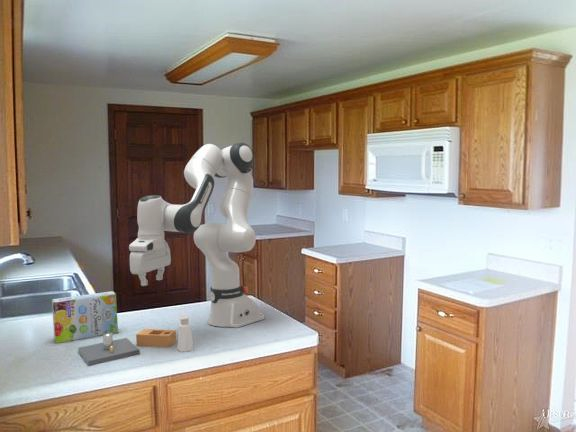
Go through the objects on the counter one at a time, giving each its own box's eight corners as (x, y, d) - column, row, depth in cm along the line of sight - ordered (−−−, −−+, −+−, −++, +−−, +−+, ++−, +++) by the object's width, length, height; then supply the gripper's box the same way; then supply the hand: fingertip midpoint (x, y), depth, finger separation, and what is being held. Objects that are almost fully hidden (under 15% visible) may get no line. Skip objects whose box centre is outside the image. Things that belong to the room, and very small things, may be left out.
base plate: (126, 341, 172) (126, 337, 172) (139, 354, 161) (139, 349, 160) (78, 352, 163) (78, 347, 163) (88, 365, 151) (88, 361, 151)
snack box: (115, 329, 186) (113, 290, 185) (118, 333, 181) (116, 293, 180) (54, 339, 176) (51, 298, 174) (55, 344, 171) (52, 302, 169)
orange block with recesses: (136, 345, 168) (136, 334, 168) (144, 339, 174) (144, 328, 174) (169, 347, 166) (168, 336, 166) (176, 341, 172) (175, 330, 171)
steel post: (112, 350, 164) (111, 331, 163) (114, 353, 161) (113, 334, 161) (102, 352, 162) (101, 333, 161) (105, 355, 160) (104, 336, 159)
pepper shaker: (194, 345, 167) (193, 314, 166) (193, 351, 162) (192, 319, 161) (177, 346, 167) (176, 315, 166) (176, 352, 161) (175, 320, 160)
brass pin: (113, 355, 159) (112, 345, 159) (114, 356, 158) (113, 346, 158) (109, 356, 159) (109, 346, 158) (110, 357, 158) (110, 347, 157)
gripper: (159, 238, 178) (160, 276, 179) (125, 246, 159) (126, 288, 160) (174, 239, 176) (175, 277, 178) (142, 247, 157) (143, 289, 158)
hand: (152, 282), depth 168 cm, fingers open, 8 cm apart
